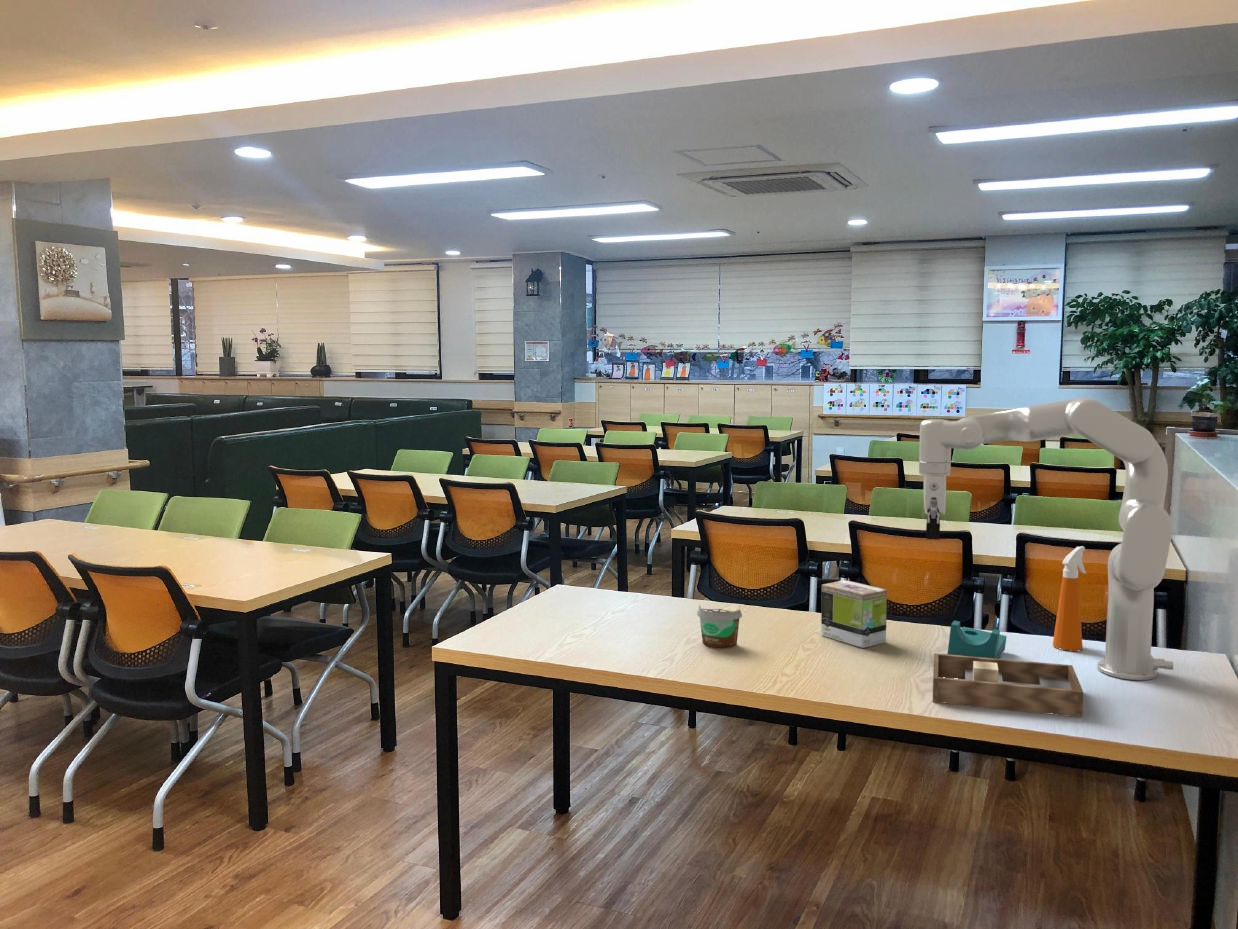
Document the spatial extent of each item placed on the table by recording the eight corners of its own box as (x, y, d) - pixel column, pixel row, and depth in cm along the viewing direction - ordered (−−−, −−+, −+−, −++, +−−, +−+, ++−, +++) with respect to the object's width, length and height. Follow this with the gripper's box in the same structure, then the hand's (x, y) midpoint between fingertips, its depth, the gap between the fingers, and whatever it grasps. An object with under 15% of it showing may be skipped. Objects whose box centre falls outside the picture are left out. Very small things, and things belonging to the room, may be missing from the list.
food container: (691, 647, 245) (691, 610, 244) (698, 640, 250) (697, 605, 249) (736, 652, 240) (736, 615, 239) (742, 645, 246) (742, 609, 245)
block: (996, 684, 207) (997, 663, 206) (997, 692, 202) (998, 670, 201) (972, 682, 208) (973, 661, 208) (973, 689, 204) (974, 668, 203)
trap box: (1071, 688, 210) (1072, 665, 210) (1082, 717, 194) (1083, 692, 193) (933, 675, 220) (934, 653, 220) (932, 702, 204) (933, 678, 203)
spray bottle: (1095, 645, 241) (1099, 547, 238) (1073, 653, 235) (1077, 552, 232) (1069, 639, 247) (1073, 543, 244) (1047, 646, 241) (1051, 548, 238)
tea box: (887, 642, 246) (888, 588, 245) (862, 649, 241) (863, 594, 239) (844, 629, 259) (845, 578, 257) (819, 635, 253) (820, 583, 252)
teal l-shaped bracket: (992, 675, 222) (997, 634, 220) (946, 664, 227) (951, 624, 225) (1004, 654, 237) (1009, 616, 235) (960, 644, 242) (965, 607, 241)
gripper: (950, 473, 221) (949, 542, 223) (950, 465, 237) (948, 530, 239) (918, 472, 223) (916, 541, 225) (919, 464, 239) (918, 528, 241)
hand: (932, 535), depth 232 cm, fingers open, 9 cm apart
